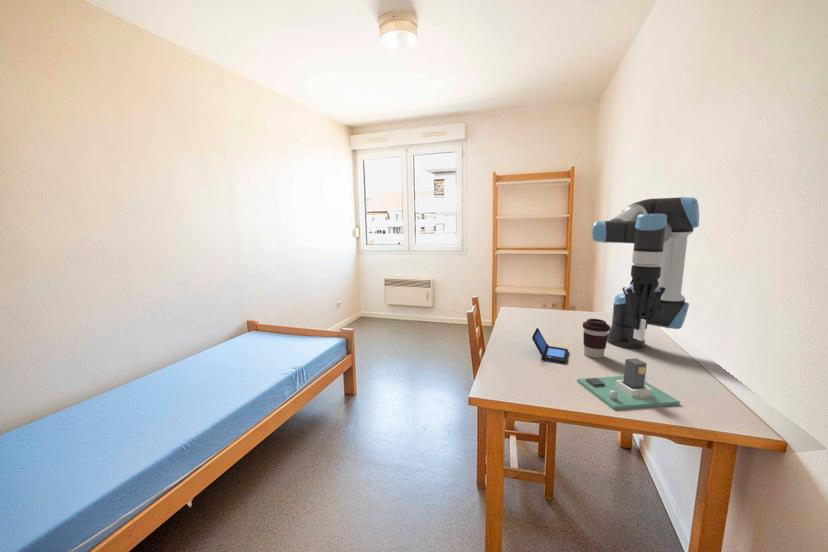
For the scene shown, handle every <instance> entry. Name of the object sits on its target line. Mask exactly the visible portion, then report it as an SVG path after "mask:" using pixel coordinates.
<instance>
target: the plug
mask: <svg viewBox="0 0 828 552" xmlns="http://www.w3.org/2000/svg"><path fill="white" fill-rule="evenodd" d="M646 371H647V362H645V361H644V360H643V361H642V360H641V359H639V358H625V362H624V371H623V372H624V373H623V376H624V380H623V384H625V385H626V386H628V387H630V388H631V389H643V388H644V383H645V382H646Z"/></svg>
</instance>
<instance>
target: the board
mask: <svg viewBox="0 0 828 552" xmlns="http://www.w3.org/2000/svg"><path fill="white" fill-rule="evenodd" d="M616 380H624V375H621V376H620V375H617V376H602V377H601V376H599V377H586V378H577V379H576V382H577V383H578V384H580V385H581V386H582V387H584V388H585V389H586V390H587V391H589V392H590V393H591V394H592V395H594V396H595V397H597V399H599V400H600V401H602V402H603V403H604V404H606V406H608V407H609V408H611V410H624V409H626V410H627V409H637V407H639V408H649V407H650V406H653V407H664V406H665V405H666V406H679V405H680V404H681V403H680V402H681V401H680V400H678V399H676V398H675V397H673V396H671V395H670V394H667V393H666V392H664V391H663V390H661V389H659V388H658V387H656V386H654V385H653V384H651V383H648V382H647V381H645V383H644V385H646V386H648V387H649V388H651V389H652V395H647V396H644V397H639V396H633V397H631V396H630V395H628V394H627V393H625V392H624V391H622V390H621V389H619V388H618V387H616V386H615V385H616ZM666 406H665V407H666ZM650 408H651V407H650Z"/></svg>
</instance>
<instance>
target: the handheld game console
mask: <svg viewBox="0 0 828 552" xmlns="http://www.w3.org/2000/svg"><path fill="white" fill-rule="evenodd" d="M531 338H532V341H533V343H534V345H535V347H536V348H537V351H538V352H539V353H540V355H541V358H540V359H541V360H542V361H547V362H553V363H559V364H566V363H567V359H568V355H569V349H568V348H565V347H558V346H553V345H552V346H551V345H549V344H548V343H547V342H546V340H545V338H544V336H543V335H542V333H541V331H540V329H539V328H538V327H537V328H536V329H535V330H534V333H533V335H532V336H531Z"/></svg>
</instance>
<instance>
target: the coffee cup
mask: <svg viewBox="0 0 828 552" xmlns="http://www.w3.org/2000/svg"><path fill="white" fill-rule="evenodd" d="M582 328H583V341H582V342H583V353H584V355H585V356H586V357H588V358H592V359H602V358H604V355H605V350H606V348H607V343H608V342H607V337H608V332H609V330H610V328H611V325H610V324H607V321H605V320H603V319H599V318H588V319H587V320H586V321H583V322H582Z"/></svg>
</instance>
